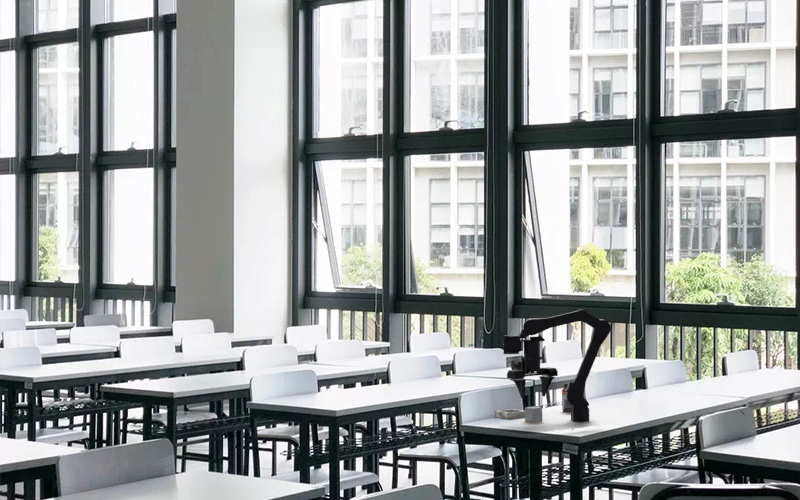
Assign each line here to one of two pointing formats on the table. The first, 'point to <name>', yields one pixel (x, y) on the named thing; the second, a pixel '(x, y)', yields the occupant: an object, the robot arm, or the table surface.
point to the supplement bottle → (565, 400)
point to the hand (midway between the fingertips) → (533, 397)
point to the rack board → (510, 414)
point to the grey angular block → (533, 414)
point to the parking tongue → (532, 423)
